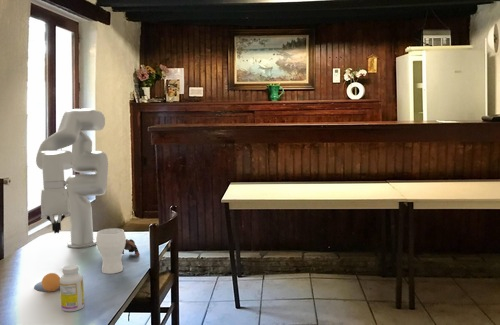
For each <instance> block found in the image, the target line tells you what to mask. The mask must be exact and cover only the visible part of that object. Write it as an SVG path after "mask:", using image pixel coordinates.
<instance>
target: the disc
mask: <svg viewBox="0 0 500 325" xmlns="http://www.w3.org/2000/svg"><path fill="white" fill-rule="evenodd" d="M33 288H34V289H35V290H36V291H39V292H47V291H46V290H45V289H44V288H43V287H42V281H40V282H38V283H36V284H35V285H34V287H33ZM56 291H57V292H58V291H60V286H59V288H58V289H57V290H55V291H54V292H56Z"/></svg>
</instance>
